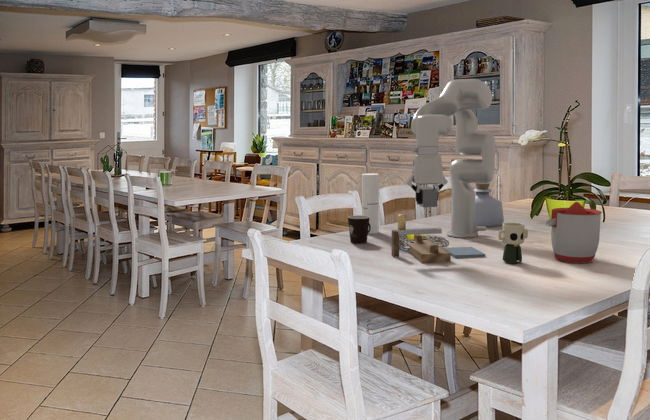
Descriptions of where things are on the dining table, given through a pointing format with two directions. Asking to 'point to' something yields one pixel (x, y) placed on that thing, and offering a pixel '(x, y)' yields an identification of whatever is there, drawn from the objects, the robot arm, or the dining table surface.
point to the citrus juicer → (575, 233)
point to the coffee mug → (358, 228)
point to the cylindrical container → (371, 200)
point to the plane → (421, 249)
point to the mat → (464, 252)
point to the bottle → (487, 207)
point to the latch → (404, 231)
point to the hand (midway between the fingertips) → (426, 202)
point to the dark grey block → (428, 197)
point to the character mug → (512, 241)
